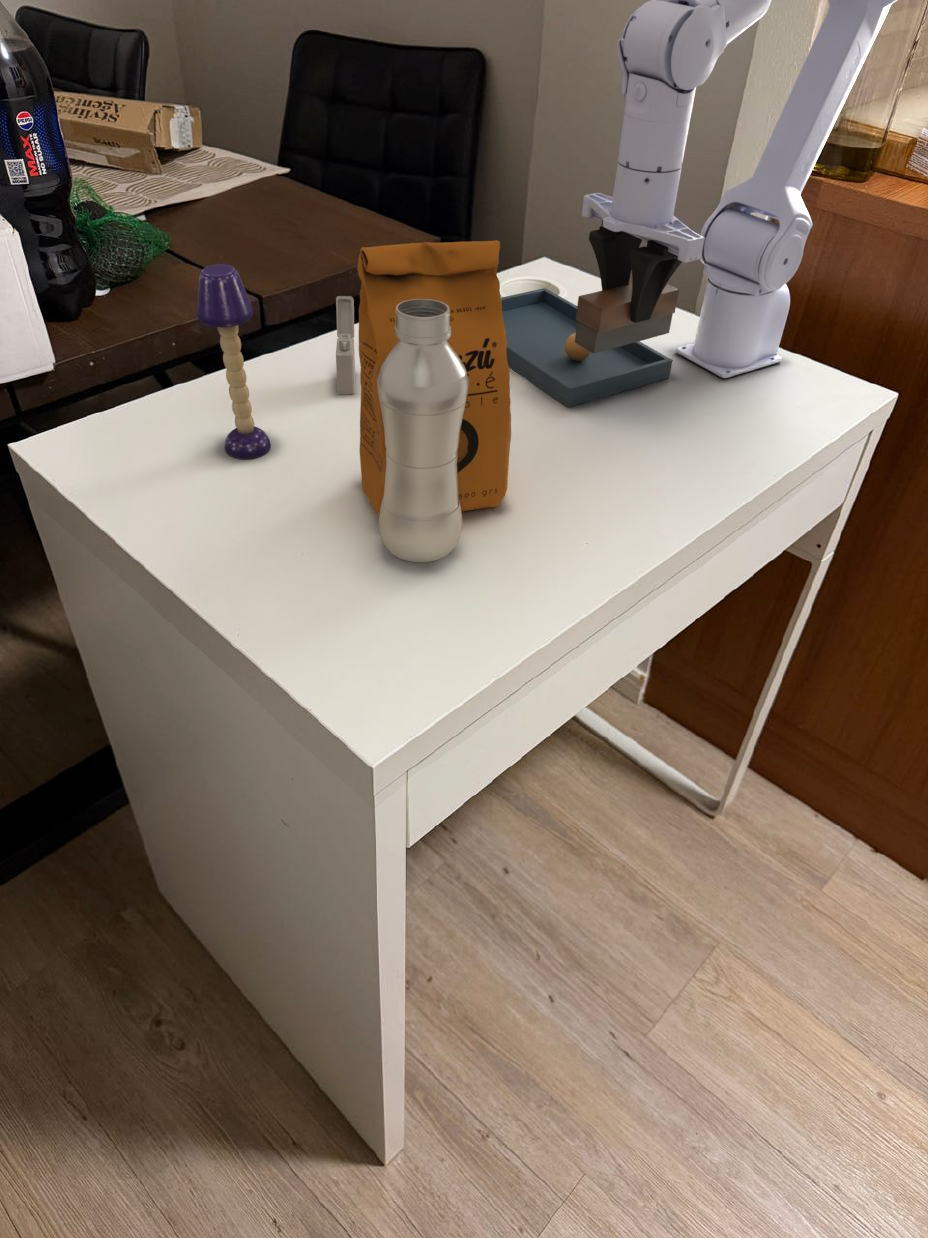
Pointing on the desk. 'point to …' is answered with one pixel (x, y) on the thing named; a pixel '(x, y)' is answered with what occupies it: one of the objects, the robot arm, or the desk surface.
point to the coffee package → (476, 337)
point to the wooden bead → (575, 349)
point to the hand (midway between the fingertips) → (626, 312)
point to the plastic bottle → (421, 434)
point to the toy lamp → (232, 352)
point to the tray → (542, 360)
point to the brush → (620, 318)
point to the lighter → (345, 345)
